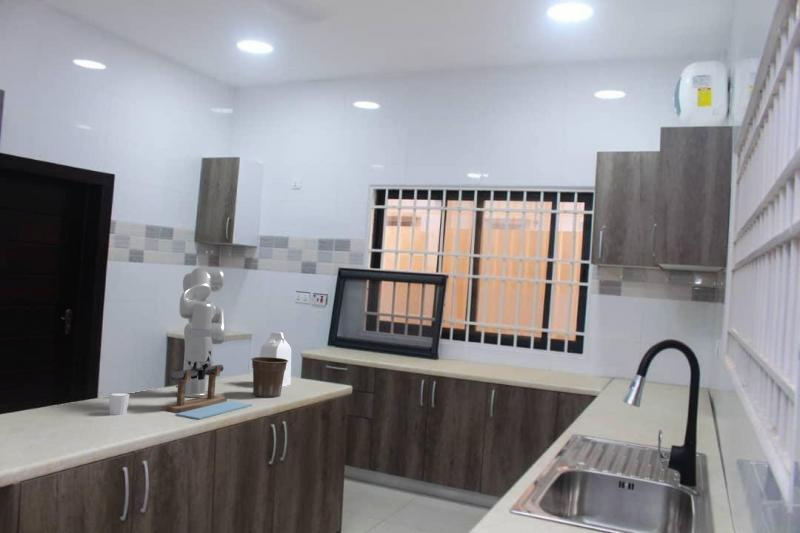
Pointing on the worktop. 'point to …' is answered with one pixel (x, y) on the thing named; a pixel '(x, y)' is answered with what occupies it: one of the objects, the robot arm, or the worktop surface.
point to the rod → (193, 372)
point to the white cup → (118, 403)
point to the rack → (197, 402)
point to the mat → (213, 410)
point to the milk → (278, 353)
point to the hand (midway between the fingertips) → (197, 378)
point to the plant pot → (268, 376)
